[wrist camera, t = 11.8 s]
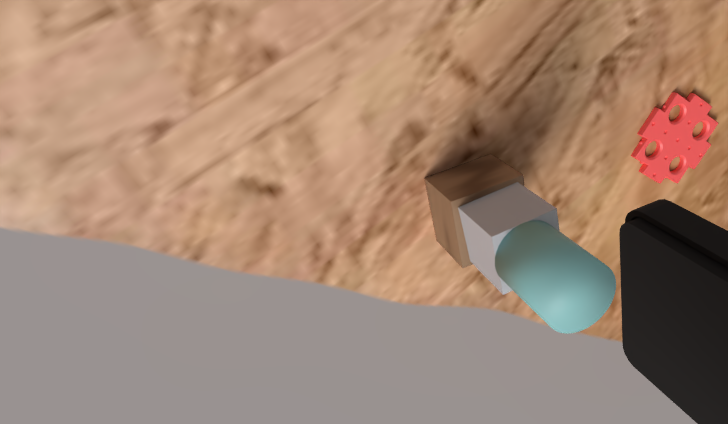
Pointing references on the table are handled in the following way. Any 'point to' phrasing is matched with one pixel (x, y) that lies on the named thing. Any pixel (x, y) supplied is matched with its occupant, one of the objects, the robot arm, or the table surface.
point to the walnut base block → (464, 198)
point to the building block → (674, 137)
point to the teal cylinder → (555, 276)
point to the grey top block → (500, 224)
